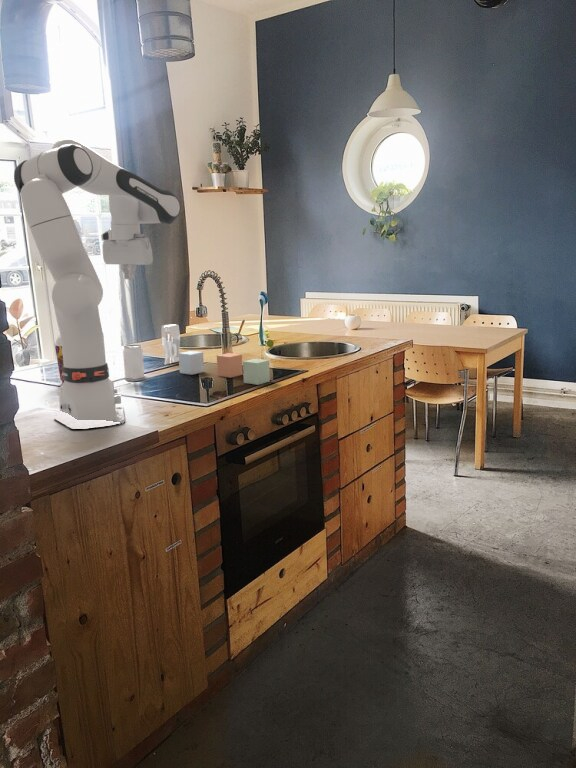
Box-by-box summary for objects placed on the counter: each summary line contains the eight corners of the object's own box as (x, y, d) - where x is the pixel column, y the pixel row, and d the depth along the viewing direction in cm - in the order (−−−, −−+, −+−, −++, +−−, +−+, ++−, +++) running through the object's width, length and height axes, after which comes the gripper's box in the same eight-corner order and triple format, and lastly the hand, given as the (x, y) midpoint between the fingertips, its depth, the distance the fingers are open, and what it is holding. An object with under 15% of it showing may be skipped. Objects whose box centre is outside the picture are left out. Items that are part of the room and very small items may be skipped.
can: (139, 382, 224) (137, 347, 222) (122, 382, 225) (119, 347, 223) (147, 378, 230) (145, 344, 228) (130, 378, 232) (127, 344, 229)
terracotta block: (230, 377, 222) (229, 357, 221) (217, 375, 226) (216, 355, 224) (242, 374, 227) (241, 354, 225) (229, 372, 230) (228, 352, 229)
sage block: (257, 384, 210) (257, 363, 209) (243, 382, 214) (242, 361, 213) (269, 381, 215) (269, 360, 214) (255, 379, 219) (255, 358, 217)
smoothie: (62, 386, 221) (56, 326, 217) (55, 382, 228) (49, 324, 223) (87, 383, 225) (81, 324, 221) (79, 379, 232) (74, 322, 228)
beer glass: (173, 366, 252) (170, 326, 249) (159, 364, 256) (157, 326, 252) (185, 363, 258) (183, 324, 254) (171, 361, 261) (169, 323, 258)
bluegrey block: (191, 374, 229) (190, 354, 227) (179, 372, 232) (178, 353, 231) (204, 371, 233) (203, 352, 232) (192, 370, 237) (191, 350, 235)
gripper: (156, 233, 202) (159, 279, 205) (114, 234, 214) (117, 278, 217) (139, 233, 197) (143, 280, 200) (97, 235, 210) (101, 279, 213)
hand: (129, 279), depth 209 cm, fingers closed
